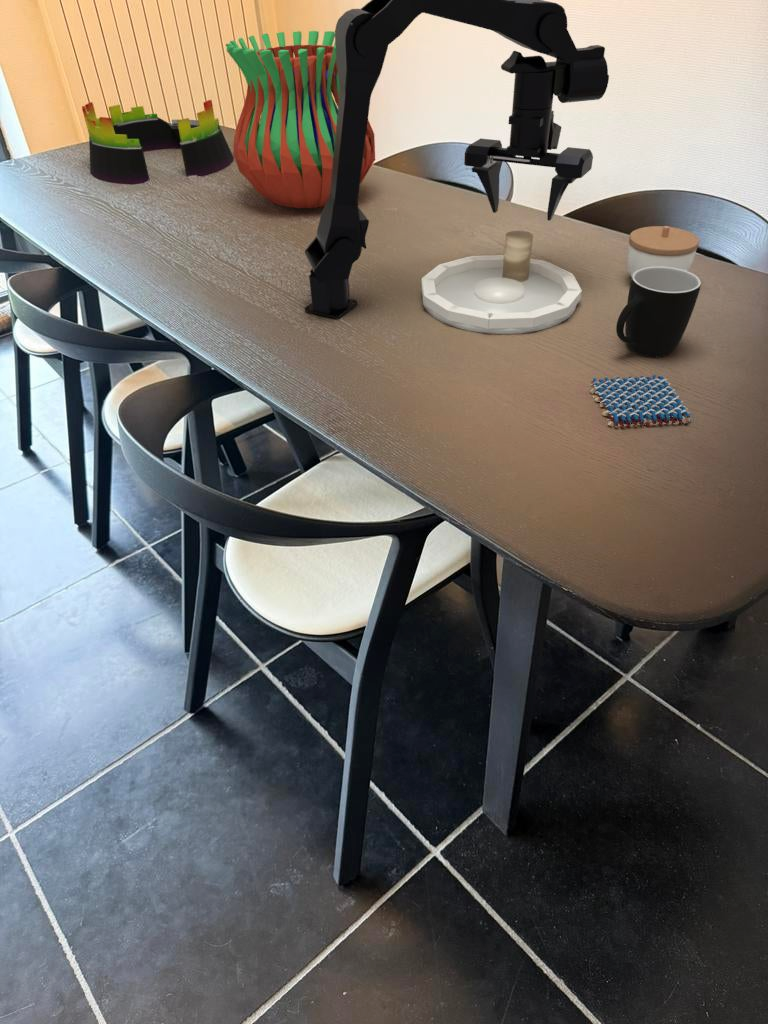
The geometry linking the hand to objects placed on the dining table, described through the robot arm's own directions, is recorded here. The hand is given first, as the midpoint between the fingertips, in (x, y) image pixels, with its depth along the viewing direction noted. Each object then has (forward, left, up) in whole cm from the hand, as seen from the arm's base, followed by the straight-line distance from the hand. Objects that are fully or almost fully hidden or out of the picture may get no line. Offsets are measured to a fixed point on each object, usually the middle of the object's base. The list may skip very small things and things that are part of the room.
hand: (522, 215), depth 114 cm
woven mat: (-29, -28, -12) cm, 42 cm away
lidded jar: (+10, -21, -11) cm, 26 cm away
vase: (+24, +58, -11) cm, 64 cm away
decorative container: (+33, +110, -12) cm, 116 cm away
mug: (-14, -25, -11) cm, 31 cm away
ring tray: (-7, 0, -11) cm, 13 cm away
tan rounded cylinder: (0, 0, -10) cm, 10 cm away
